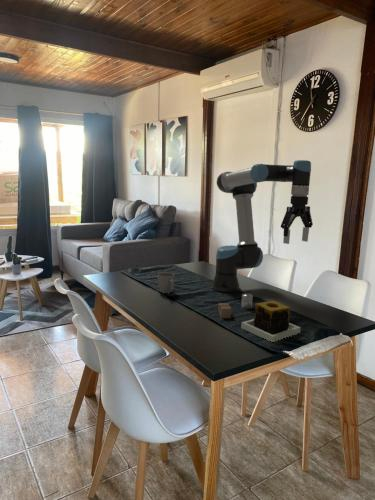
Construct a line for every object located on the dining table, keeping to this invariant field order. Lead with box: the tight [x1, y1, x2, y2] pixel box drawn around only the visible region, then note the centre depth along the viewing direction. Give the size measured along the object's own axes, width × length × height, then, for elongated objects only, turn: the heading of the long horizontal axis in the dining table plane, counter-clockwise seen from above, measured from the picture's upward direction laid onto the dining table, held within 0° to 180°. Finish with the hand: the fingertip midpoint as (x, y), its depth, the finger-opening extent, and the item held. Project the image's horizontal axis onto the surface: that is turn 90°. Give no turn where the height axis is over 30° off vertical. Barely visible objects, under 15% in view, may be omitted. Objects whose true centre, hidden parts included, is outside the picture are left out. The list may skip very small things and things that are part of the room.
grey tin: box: [240, 293, 254, 310], centre depth 175 cm, size 5×5×6 cm
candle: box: [253, 300, 291, 335], centre depth 148 cm, size 10×10×10 cm
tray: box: [240, 318, 301, 343], centre depth 149 cm, size 16×16×2 cm
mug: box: [157, 271, 175, 294], centre depth 193 cm, size 12×9×10 cm
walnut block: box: [217, 302, 232, 319], centre depth 164 cm, size 7×4×4 cm, turn 5°
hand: (295, 242), depth 170 cm, fingers open, 13 cm apart
